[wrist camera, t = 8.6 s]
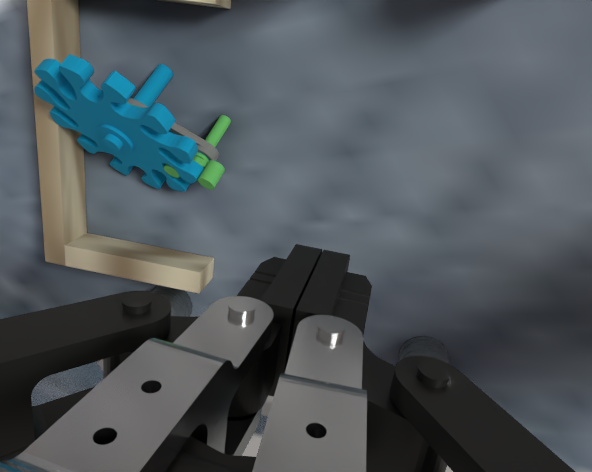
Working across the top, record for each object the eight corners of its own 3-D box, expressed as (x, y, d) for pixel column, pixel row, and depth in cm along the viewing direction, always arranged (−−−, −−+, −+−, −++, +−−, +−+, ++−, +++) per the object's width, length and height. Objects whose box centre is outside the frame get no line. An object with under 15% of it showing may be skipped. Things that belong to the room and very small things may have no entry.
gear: (42, 138, 31) (3, 38, 21) (95, 73, 33) (80, -44, 24) (197, 225, 32) (222, 165, 23) (237, 156, 34) (275, 78, 25)
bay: (232, -21, 27) (217, -29, 25) (212, 277, 33) (199, 293, 31) (53, -41, 28) (23, -50, 26) (68, 248, 35) (45, 261, 33)
